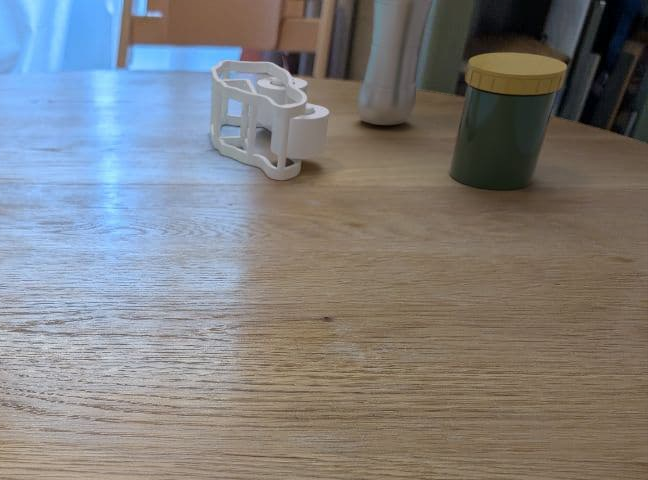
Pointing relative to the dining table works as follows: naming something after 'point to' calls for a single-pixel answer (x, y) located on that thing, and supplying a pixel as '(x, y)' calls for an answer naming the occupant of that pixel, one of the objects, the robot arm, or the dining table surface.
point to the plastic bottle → (393, 61)
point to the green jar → (500, 138)
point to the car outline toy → (267, 117)
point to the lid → (515, 73)
